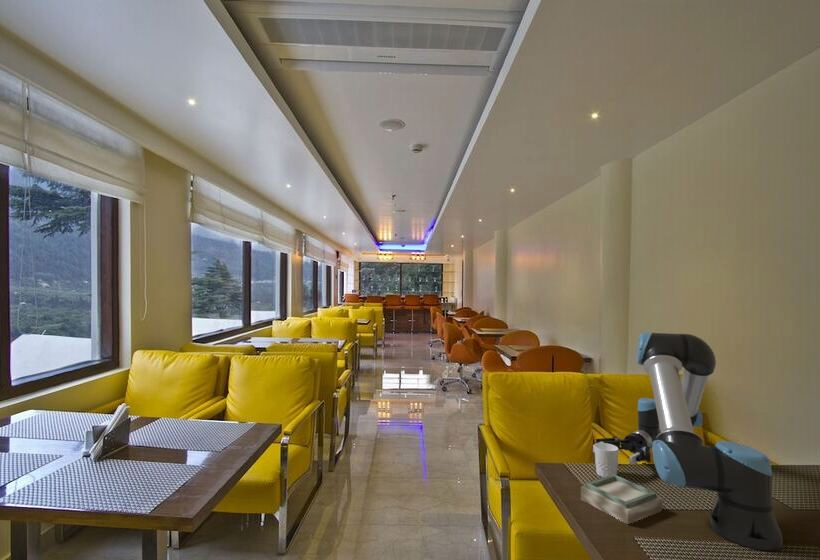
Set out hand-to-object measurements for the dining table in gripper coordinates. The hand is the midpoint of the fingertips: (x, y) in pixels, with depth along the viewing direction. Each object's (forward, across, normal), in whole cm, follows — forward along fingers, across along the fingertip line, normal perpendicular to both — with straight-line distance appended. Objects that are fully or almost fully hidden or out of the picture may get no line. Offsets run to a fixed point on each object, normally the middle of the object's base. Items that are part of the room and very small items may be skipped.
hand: (611, 454), depth 148 cm
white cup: (+5, 0, -6) cm, 8 cm away
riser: (+22, -14, -6) cm, 27 cm away
